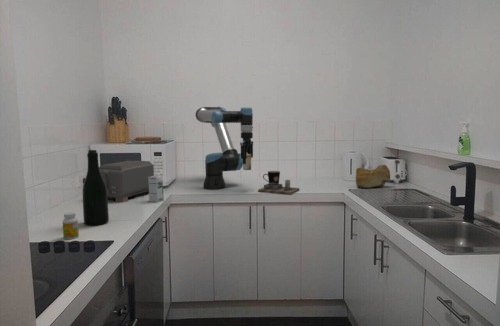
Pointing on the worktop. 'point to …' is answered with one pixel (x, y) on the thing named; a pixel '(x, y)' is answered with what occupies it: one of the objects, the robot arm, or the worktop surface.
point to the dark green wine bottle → (94, 193)
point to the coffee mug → (273, 176)
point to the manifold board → (279, 188)
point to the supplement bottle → (70, 226)
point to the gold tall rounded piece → (248, 162)
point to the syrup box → (155, 188)
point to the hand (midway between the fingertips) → (247, 168)
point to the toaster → (126, 178)
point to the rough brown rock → (372, 177)
